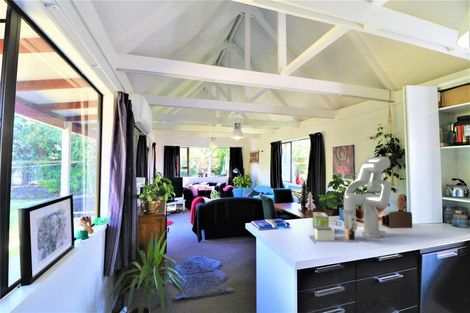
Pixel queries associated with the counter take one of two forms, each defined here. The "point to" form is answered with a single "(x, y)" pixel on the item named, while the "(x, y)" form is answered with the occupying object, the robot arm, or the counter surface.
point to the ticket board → (339, 239)
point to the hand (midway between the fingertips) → (350, 238)
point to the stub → (348, 233)
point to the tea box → (320, 219)
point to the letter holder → (397, 220)
